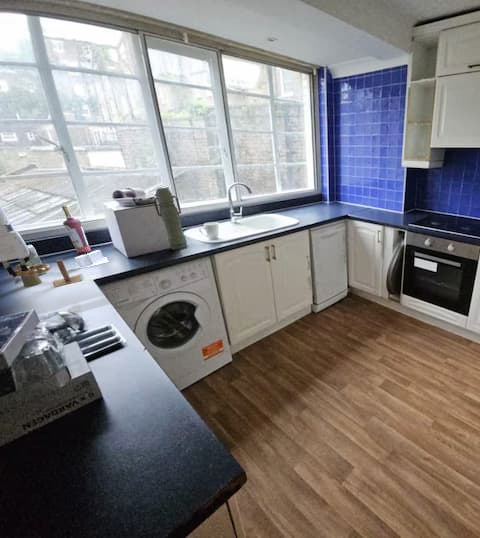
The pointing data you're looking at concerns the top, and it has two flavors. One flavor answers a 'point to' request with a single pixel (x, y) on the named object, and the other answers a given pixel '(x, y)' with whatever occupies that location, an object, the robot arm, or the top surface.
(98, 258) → the napkin holder
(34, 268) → the brass hoop
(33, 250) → the syrup box
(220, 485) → the top surface
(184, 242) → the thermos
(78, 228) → the liquor
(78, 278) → the stand
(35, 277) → the cork
